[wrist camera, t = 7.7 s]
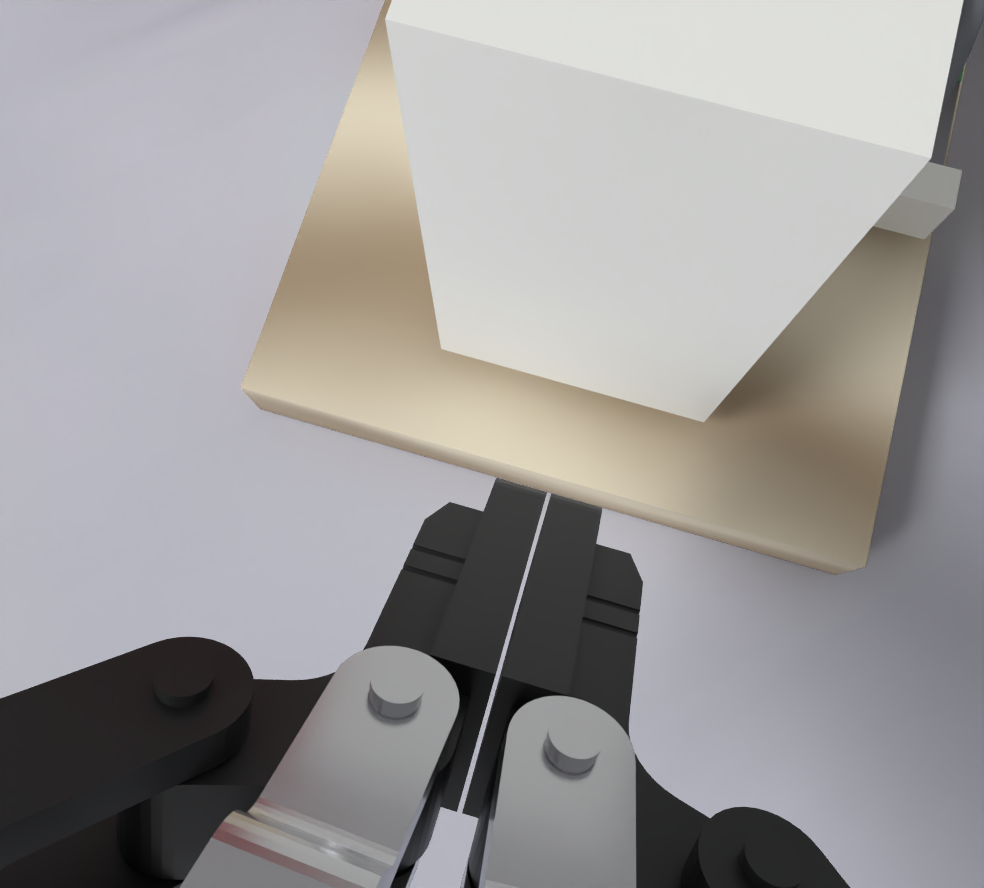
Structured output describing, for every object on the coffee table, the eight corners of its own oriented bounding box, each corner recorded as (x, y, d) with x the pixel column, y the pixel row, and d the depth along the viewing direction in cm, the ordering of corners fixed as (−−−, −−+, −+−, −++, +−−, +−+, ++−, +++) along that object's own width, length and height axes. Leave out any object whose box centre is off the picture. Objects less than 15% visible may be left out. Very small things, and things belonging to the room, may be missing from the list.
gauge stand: (835, 574, 18) (869, 565, 16) (260, 409, 19) (237, 384, 17) (978, -117, 22) (1018, -181, 20) (493, -230, 23) (493, -300, 21)
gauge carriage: (877, 471, 17) (1305, 253, 8) (441, 349, 17) (384, 18, 8) (949, 114, 18) (1369, -394, 9) (549, 13, 19) (597, -554, 10)
